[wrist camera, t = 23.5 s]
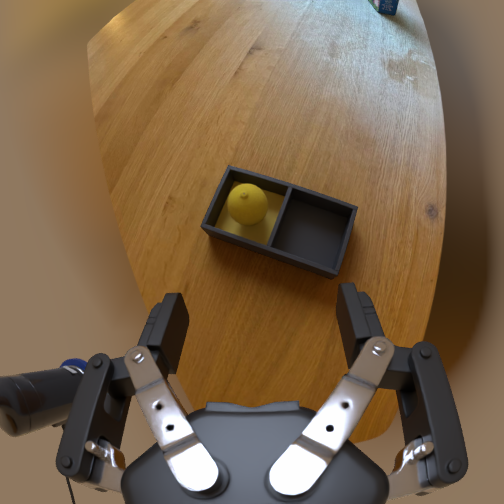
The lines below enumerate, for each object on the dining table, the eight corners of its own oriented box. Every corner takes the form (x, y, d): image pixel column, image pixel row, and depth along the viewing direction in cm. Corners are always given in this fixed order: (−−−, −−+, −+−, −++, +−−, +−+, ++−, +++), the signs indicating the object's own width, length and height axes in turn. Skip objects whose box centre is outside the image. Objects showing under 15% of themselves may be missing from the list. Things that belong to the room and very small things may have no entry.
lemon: (277, 215, 42) (275, 194, 34) (249, 239, 42) (241, 223, 34) (252, 191, 43) (246, 166, 35) (225, 214, 43) (213, 193, 35)
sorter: (331, 279, 40) (337, 275, 35) (208, 235, 43) (200, 226, 39) (351, 217, 41) (358, 206, 37) (233, 178, 45) (228, 164, 40)
